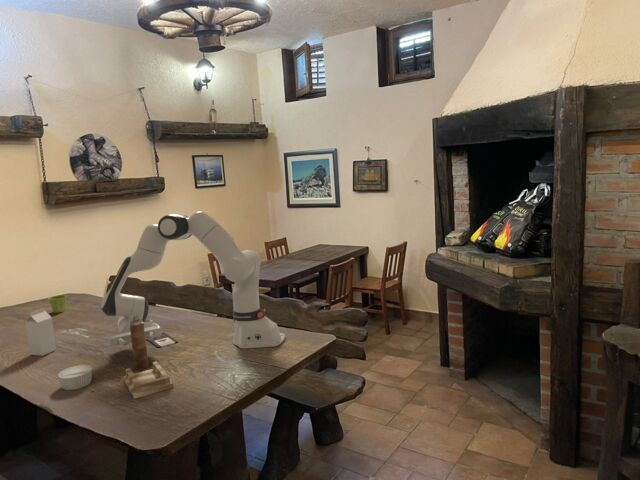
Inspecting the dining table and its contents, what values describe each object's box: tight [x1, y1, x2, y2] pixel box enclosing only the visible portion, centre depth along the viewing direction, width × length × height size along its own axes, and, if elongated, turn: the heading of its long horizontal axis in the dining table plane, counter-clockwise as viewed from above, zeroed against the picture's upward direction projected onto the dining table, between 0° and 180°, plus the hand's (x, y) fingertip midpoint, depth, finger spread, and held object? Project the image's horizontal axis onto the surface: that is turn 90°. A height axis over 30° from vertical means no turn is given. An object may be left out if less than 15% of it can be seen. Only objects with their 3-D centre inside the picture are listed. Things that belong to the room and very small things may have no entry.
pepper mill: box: [130, 316, 149, 371], centre depth 180 cm, size 5×5×20 cm
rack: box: [123, 361, 175, 399], centre depth 165 cm, size 18×13×4 cm
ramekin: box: [57, 364, 93, 391], centre depth 168 cm, size 11×11×5 cm
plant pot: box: [47, 294, 68, 314], centre depth 271 cm, size 9×9×9 cm
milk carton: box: [24, 307, 57, 357], centre depth 203 cm, size 7×7×19 cm
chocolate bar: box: [146, 331, 179, 349], centre depth 211 cm, size 9×1×18 cm
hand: (137, 340), depth 182 cm, fingers open, 8 cm apart
